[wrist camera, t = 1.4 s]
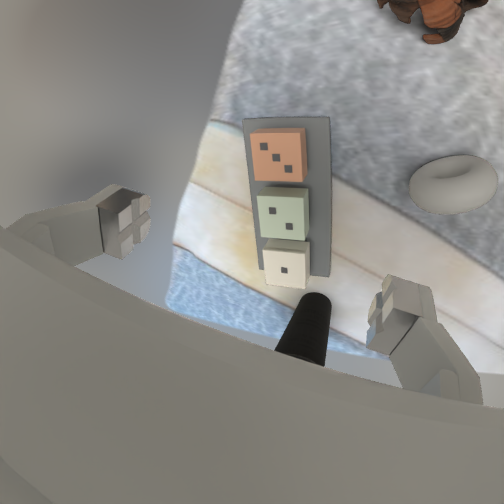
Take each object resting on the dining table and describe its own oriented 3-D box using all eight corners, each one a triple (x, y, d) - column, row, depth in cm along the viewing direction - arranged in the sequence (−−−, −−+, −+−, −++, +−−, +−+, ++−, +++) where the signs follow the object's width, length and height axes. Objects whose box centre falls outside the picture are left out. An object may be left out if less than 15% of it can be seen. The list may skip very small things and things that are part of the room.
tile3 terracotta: (258, 128, 33) (249, 133, 31) (305, 127, 31) (299, 133, 29) (262, 172, 36) (254, 180, 34) (307, 173, 34) (302, 182, 32)
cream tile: (269, 238, 40) (262, 250, 38) (309, 242, 39) (304, 254, 36) (272, 271, 43) (265, 284, 41) (309, 276, 41) (305, 289, 39)
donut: (477, 144, 27) (510, 172, 19) (483, 172, 28) (514, 208, 20) (400, 163, 32) (410, 197, 24) (408, 191, 33) (418, 232, 25)
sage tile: (264, 186, 37) (256, 196, 34) (308, 188, 35) (303, 198, 33) (268, 225, 39) (260, 237, 37) (309, 229, 38) (304, 241, 35)
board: (245, 118, 35) (237, 122, 33) (329, 116, 32) (327, 120, 30) (261, 265, 46) (255, 275, 44) (330, 272, 43) (327, 284, 41)
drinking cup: (327, 278, 44) (292, 400, 28) (348, 316, 46) (322, 434, 30) (282, 291, 48) (232, 402, 32) (305, 326, 50) (266, 434, 34)
